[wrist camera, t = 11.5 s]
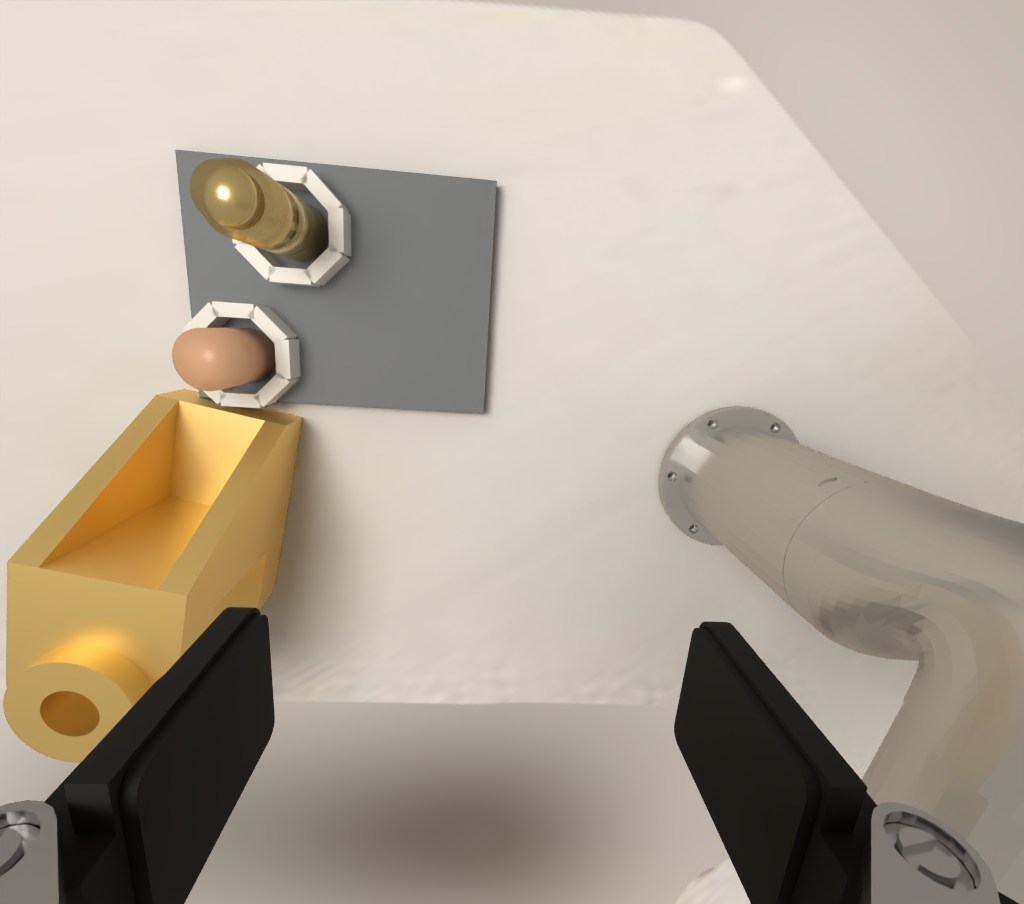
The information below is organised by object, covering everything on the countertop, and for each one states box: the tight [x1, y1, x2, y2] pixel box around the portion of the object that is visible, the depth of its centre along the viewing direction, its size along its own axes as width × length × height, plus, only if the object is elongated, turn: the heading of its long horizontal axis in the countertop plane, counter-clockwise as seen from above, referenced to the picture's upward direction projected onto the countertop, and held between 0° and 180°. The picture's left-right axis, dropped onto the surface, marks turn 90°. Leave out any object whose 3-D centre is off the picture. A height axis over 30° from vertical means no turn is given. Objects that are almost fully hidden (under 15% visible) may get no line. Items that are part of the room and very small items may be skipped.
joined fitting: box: [172, 301, 301, 408], centre depth 33 cm, size 7×7×6 cm
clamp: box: [3, 389, 303, 763], centre depth 33 cm, size 20×9×16 cm, turn 165°
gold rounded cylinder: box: [190, 158, 328, 262], centre depth 29 cm, size 4×4×10 cm
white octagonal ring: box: [232, 163, 352, 287], centre depth 33 cm, size 7×7×2 cm
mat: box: [175, 150, 497, 414], centre depth 36 cm, size 22×17×1 cm
